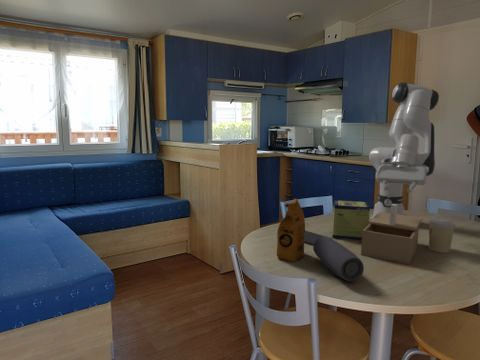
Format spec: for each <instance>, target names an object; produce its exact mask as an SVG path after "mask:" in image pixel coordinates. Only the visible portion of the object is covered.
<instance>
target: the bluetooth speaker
mask: <svg viewBox="0 0 480 360" xmlns="http://www.w3.org/2000/svg"><path fill="white" fill-rule="evenodd" d="M329 237H330V236H326V235H323V236H322V237H320V238H318V239H317V240H316V241H315V243H314V246H312V247H313V248H312V249H313V252H314V254H315V255H316V256H317V258H318V259H319V260H320V261H321V262H322V263H323V264H324V265H325V266H326V267H327V269H328V270H329V271H330V272H332V273H333V274H334V275H335V276H336V277H338V278H341V279H343V280H345V281H347V282H355V281H357V280H359V279H360V278H361V277H362V275H363V273H364V271H365V267H364V263H363V261H362V259H360V257H358V256H357V255H356V254H355V253H354V252H353V251H351V250H350V249H348V248H347V247H346V246H344V245H343V244H341V243H339V241H336V240H334V238H332V237H330V238H329ZM331 238H332V239H331Z"/></svg>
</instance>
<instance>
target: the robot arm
mask: <svg viewBox="0 0 480 360" xmlns="http://www.w3.org/2000/svg"><path fill="white" fill-rule="evenodd" d="M391 94H392V95H391V98H392V101H393V102H395V103H397V104H400V105H399V106H398V107H397V109H396V111H395V113H394V115H393V118H392V121H391V125H390V128H389V132H388V136H389V139H390V140H391V141H392V142H393V143H395V147H388V146H387V147H386V146H380V147H379V146H378V147H374V148H373V149H372V150H371V151H370V153H369V156H368V159H369V163H370V164H371V165H372V167H373V168H374V169H375V170H376V173H375V180H376V182H377V183H379V193H378V196H377V197H378V198H377V202H376V203H375V204H374V211H373V215H372V216H369V220H371V219H372V218H373V217H374V216H376V215H377V214H378V213H379V212H384V213H390V210H391V205H392V204H398V205H397V214H399V215H406V213H405V206H404V204H403V202H404V201H403V200H404V198H403V197H404V196H403V187H404V185H410V186H407V188H406V192H407V193H412V191H413V190H414V189H415V187H416V186H417V185H418V186H424V185H426V183H427V180H428V179H427V178H428V176H431V175H432V174H433V172H435V169H436V160H435V159H436V158H435V125H434V123H433V122H432V121H430V120H431V119H430V118H429V117H430V116H429V115H430V111H431V110H434V109H435V107H436V106H437V105H438V103H439V97H440V94H439V92H437V91H436V90H435V89H431V88H428V87H425V86H423V85H416V84H412V83H408V82H399V83H397V84H396V86H395V87H394V88H393V89H392V93H391ZM413 132H415V133H416V134H418V135H419V136H421V137H422V138H423V140H424V148H423V149H424V151H423V152H424V153H419V146H420V138H419V137H418V136H417V135H416V134H413Z"/></svg>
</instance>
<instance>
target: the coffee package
mask: <svg viewBox="0 0 480 360" xmlns="http://www.w3.org/2000/svg"><path fill="white" fill-rule="evenodd" d="M284 207H285V208H287V209H288V210H287V211H286V212H285V216H284V217H283V218H282V219H281V221H280V222H279V225H278V229H277V232H276V235H277V237H276V239H277V242H276V243H277V245H276V256H277V258H278V259H281V260H284V261H288V262H297V261H298V260H299V259H301V258H302V257H303V256H304V253H305V243H304V239H305V231H306V222H305V220H306V219H305V214H304V211H303V207H302V206H301V205H300V203H299V201H298V198H293V199H292V202H288V203H286V204H285V205H284Z"/></svg>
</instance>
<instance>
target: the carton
mask: <svg viewBox="0 0 480 360" xmlns="http://www.w3.org/2000/svg"><path fill="white" fill-rule="evenodd" d="M419 230H420V225H419V226H418V228H417V229H416V231H414V230H407V229H401V228H394V227H388V226H381V225H375V224H369V225H368V226H367V227H366V228H365V229H364V230H363V231H362V240H361V247H360V249H361V250H360V255H361V256H366V257H372V258H375V259H376V258H377V259H380V260H386V261H390V262H391V261H392V262H396V263H400V264H401V263H402V264H405V265H406V264H407V265H410V264H411V262H412V260H413V258H414V256H415V254H416V252H417V250H418V241H419V240H418V239H419Z"/></svg>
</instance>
